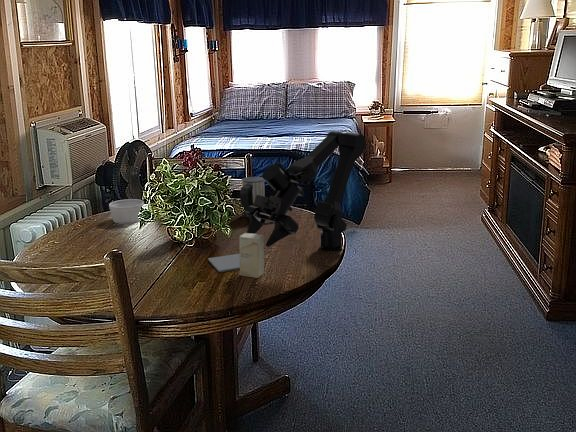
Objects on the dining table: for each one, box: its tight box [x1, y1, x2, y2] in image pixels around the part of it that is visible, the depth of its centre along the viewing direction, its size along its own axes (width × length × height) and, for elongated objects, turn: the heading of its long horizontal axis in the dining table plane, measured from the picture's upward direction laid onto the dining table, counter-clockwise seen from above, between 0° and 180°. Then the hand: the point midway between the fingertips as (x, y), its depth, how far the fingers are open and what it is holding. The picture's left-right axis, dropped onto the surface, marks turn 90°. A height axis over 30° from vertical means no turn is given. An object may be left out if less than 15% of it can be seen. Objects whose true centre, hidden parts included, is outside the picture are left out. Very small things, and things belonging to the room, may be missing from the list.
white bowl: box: [108, 198, 145, 225], centre depth 242 cm, size 13×13×7 cm
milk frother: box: [239, 176, 266, 219], centre depth 241 cm, size 14×16×15 cm
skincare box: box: [238, 232, 265, 279], centre depth 183 cm, size 6×4×12 cm
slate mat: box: [207, 253, 240, 273], centre depth 194 cm, size 14×12×1 cm
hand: (256, 242), depth 183 cm, fingers open, 9 cm apart
